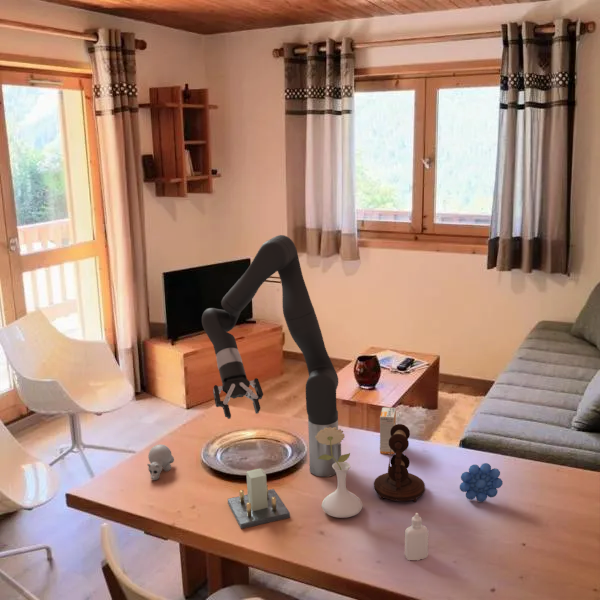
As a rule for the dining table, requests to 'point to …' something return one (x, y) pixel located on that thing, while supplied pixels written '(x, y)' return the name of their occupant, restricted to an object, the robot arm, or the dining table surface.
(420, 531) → the eye dropper bottle
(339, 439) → the flower in vase
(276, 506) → the grey gold peg board
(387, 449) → the supplement box
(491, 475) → the blue ball cluster
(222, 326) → the robot arm
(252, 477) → the block
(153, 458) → the round bodied animal figurine
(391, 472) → the wooden spool stand
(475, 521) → the dining table surface
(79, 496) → the dining table surface
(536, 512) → the dining table surface
